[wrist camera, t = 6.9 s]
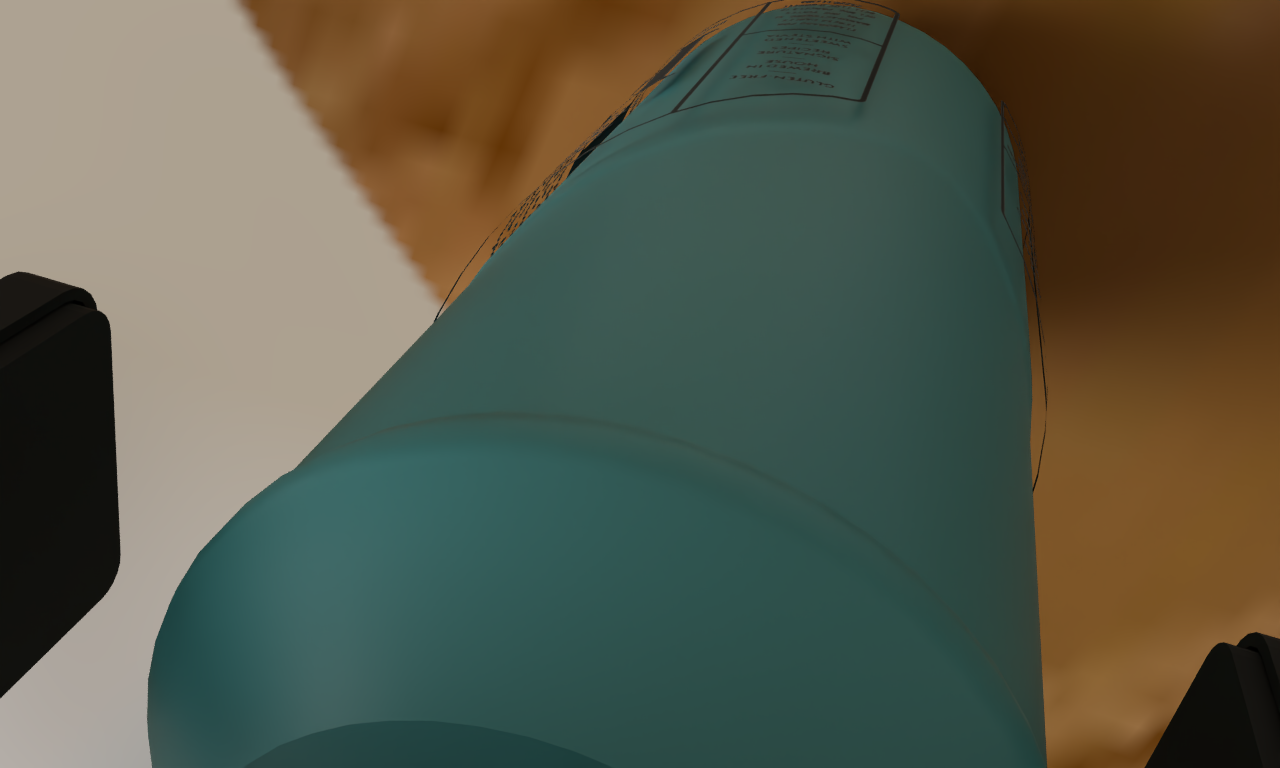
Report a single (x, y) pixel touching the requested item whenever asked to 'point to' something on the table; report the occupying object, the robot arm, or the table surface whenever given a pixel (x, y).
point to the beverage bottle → (674, 459)
